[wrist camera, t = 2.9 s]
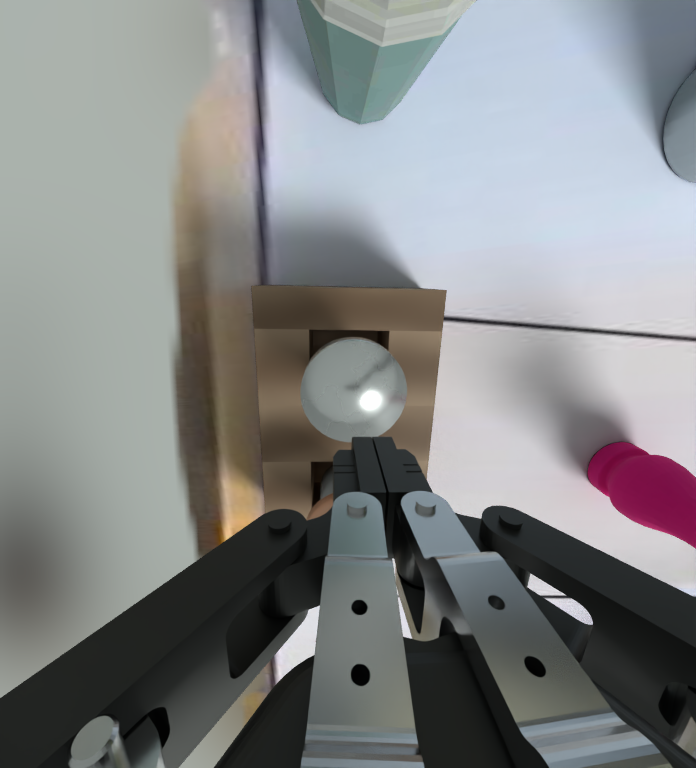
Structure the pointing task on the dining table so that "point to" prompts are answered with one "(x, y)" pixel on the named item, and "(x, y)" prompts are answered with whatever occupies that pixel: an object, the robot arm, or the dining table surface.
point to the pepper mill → (647, 489)
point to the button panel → (297, 346)
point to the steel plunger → (353, 389)
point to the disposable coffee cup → (374, 49)
